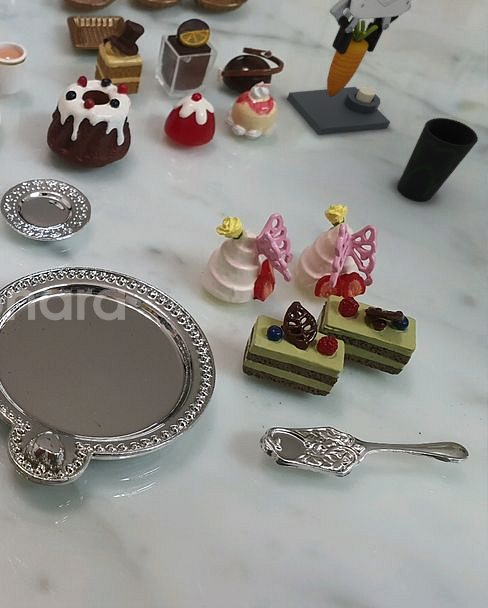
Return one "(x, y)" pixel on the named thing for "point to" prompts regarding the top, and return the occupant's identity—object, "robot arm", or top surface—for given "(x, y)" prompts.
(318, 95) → the scale
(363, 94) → the button
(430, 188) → the cup
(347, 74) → the carrot
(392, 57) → the top surface
